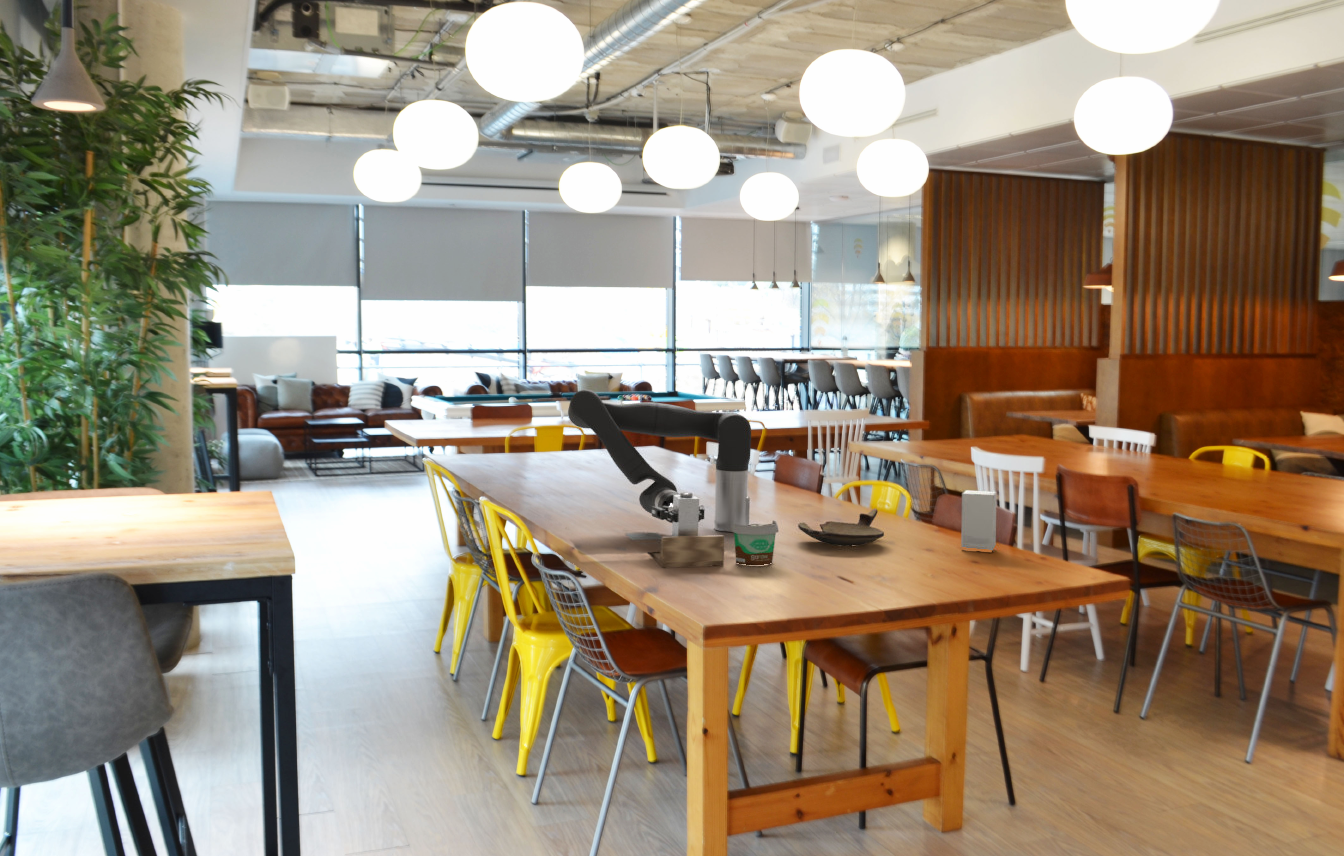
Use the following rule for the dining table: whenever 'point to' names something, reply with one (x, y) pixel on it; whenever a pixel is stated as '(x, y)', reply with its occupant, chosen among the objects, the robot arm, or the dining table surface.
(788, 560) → the dining table surface
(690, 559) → the dock
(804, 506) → the dining table surface
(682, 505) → the block
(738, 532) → the food container
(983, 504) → the skincare box
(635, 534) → the stand
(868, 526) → the oil lamp
